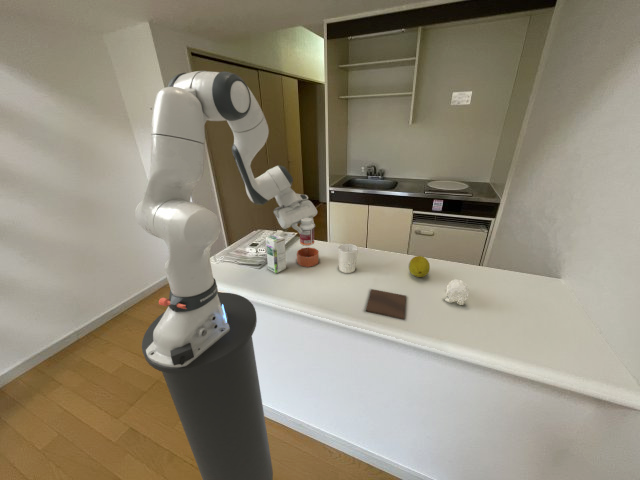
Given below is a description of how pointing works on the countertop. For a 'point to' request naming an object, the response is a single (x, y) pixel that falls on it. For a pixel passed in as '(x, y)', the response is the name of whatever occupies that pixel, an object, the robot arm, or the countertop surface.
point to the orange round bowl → (307, 257)
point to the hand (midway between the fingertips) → (308, 230)
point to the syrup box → (276, 253)
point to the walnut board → (386, 304)
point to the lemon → (419, 266)
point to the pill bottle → (307, 232)
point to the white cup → (347, 257)
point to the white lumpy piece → (457, 292)
